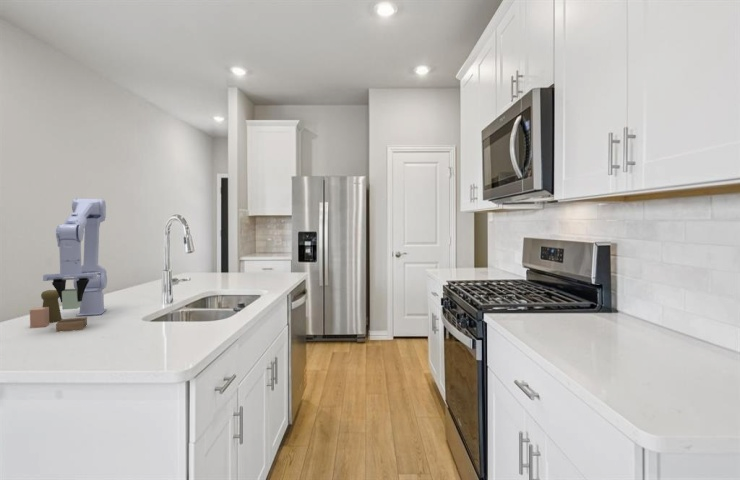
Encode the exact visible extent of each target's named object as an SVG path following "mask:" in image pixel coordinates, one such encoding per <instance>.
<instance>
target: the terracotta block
mask: <svg viewBox="0 0 740 480" xmlns="http://www.w3.org/2000/svg"><path fill="white" fill-rule="evenodd" d="M29 324H30V325H29V328H30V329H36V328H37V329H38V328H46V327H48V326H49V325H50V323H49V307H43V306H41V307H34V308H31V309H29Z"/></svg>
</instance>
